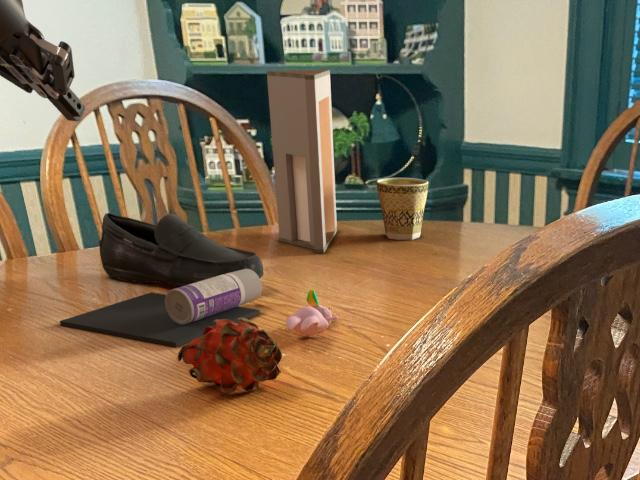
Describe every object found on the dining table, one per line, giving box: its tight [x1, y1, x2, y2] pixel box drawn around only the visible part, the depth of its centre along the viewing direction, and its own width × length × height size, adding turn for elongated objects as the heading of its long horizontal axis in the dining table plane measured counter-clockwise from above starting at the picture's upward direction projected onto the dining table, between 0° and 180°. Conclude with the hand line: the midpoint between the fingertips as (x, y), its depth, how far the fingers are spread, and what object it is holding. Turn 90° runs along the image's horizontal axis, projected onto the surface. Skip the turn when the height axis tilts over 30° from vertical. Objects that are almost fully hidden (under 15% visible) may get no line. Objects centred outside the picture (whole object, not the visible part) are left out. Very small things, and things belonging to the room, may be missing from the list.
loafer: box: [98, 212, 264, 288], centre depth 140 cm, size 10×29×10 cm, turn 71°
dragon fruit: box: [175, 318, 283, 395], centre depth 102 cm, size 8×8×12 cm
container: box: [165, 269, 263, 325], centre depth 126 cm, size 5×5×15 cm
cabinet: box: [266, 69, 338, 254], centre depth 165 cm, size 21×10×28 cm, turn 179°
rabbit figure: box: [285, 288, 339, 338], centre depth 120 cm, size 6×6×15 cm
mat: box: [59, 292, 261, 348], centre depth 126 cm, size 20×18×1 cm
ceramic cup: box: [375, 177, 429, 241], centre depth 177 cm, size 13×10×10 cm
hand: (77, 114), depth 106 cm, fingers closed
